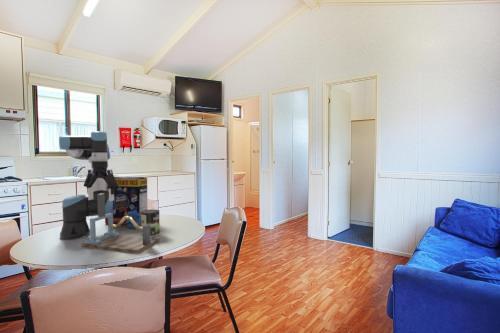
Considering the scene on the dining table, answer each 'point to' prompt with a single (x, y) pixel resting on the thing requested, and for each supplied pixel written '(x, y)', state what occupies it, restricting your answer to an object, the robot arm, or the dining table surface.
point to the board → (122, 244)
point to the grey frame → (100, 216)
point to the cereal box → (128, 197)
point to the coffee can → (151, 221)
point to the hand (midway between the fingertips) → (101, 200)
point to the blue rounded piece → (135, 217)
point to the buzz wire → (144, 229)
